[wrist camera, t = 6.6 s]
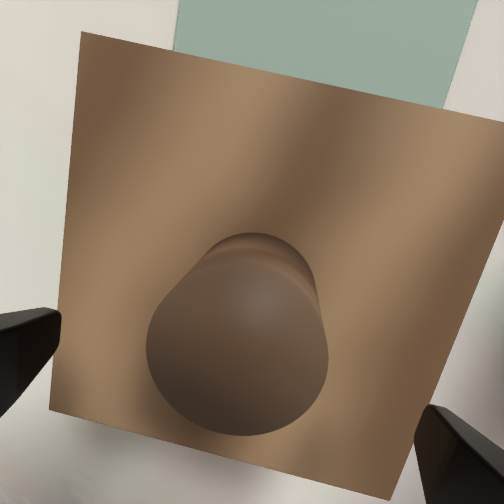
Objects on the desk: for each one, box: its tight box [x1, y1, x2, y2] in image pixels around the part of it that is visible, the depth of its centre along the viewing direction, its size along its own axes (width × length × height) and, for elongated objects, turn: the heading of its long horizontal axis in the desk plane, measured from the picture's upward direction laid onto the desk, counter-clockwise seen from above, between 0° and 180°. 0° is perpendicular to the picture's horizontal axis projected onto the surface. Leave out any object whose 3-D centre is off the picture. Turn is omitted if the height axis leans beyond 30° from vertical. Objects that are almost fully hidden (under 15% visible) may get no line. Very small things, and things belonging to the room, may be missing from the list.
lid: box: [49, 31, 504, 501], centre depth 10 cm, size 13×13×5 cm
